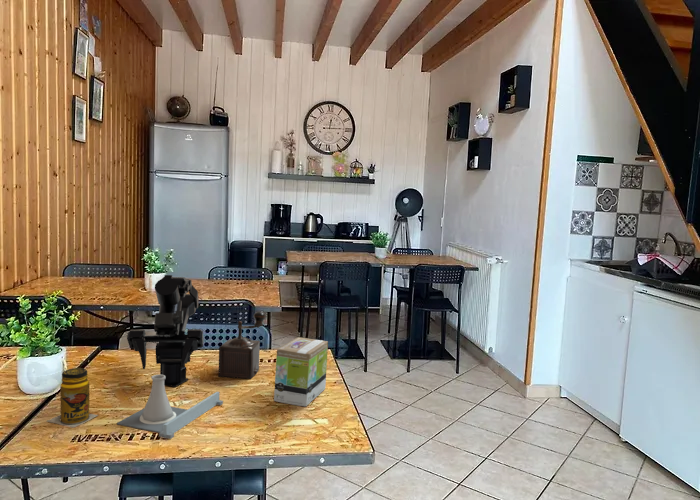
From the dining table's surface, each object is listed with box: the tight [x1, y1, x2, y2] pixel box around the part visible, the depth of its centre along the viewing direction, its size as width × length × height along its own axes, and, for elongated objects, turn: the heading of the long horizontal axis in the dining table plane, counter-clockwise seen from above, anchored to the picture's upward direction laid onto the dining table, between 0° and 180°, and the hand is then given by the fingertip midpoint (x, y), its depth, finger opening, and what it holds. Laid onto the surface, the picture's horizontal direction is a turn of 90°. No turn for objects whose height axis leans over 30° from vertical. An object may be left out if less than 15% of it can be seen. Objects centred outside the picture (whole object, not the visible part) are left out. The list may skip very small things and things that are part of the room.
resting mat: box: [116, 406, 188, 434], centre depth 124 cm, size 13×13×1 cm
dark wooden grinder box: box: [218, 311, 266, 380], centre depth 161 cm, size 16×11×18 cm
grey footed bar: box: [158, 391, 224, 440], centre depth 125 cm, size 3×22×3 cm, turn 163°
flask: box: [142, 374, 174, 422], centre depth 124 cm, size 7×7×10 cm
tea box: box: [273, 336, 329, 407], centre depth 143 cm, size 15×10×15 cm
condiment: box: [46, 367, 99, 428], centre depth 121 cm, size 7×8×12 cm
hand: (162, 368), depth 130 cm, fingers open, 9 cm apart
